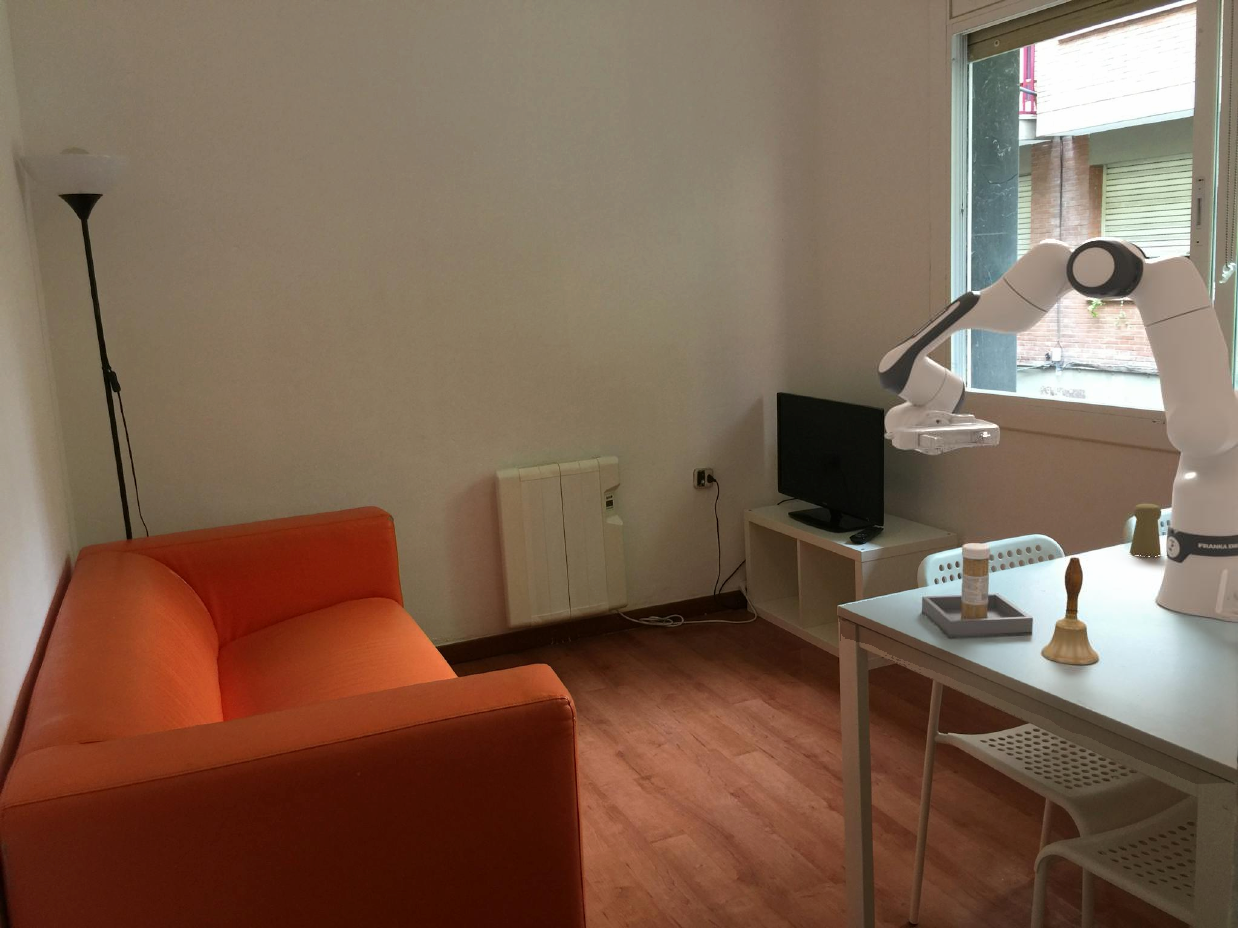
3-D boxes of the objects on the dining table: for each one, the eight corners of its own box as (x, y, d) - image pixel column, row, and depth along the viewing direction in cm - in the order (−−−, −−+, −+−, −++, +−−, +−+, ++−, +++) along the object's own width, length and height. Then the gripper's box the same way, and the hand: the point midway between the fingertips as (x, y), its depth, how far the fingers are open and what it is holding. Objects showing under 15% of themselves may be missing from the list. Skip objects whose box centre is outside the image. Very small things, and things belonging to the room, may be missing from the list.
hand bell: (1045, 643, 161) (1048, 549, 158) (1101, 651, 157) (1105, 554, 154) (1037, 660, 154) (1041, 562, 151) (1096, 668, 150) (1100, 568, 147)
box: (997, 609, 179) (998, 593, 178) (1032, 634, 165) (1032, 617, 164) (921, 612, 178) (922, 596, 178) (950, 638, 164) (950, 621, 164)
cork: (1166, 557, 209) (1169, 506, 207) (1138, 558, 209) (1140, 507, 207) (1152, 550, 215) (1154, 501, 213) (1124, 550, 215) (1126, 501, 213)
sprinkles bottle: (974, 614, 175) (976, 540, 172) (993, 621, 170) (996, 546, 168) (954, 618, 173) (956, 544, 171) (973, 625, 169) (975, 550, 166)
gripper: (881, 418, 193) (910, 427, 180) (979, 414, 196) (1015, 422, 182) (880, 450, 194) (909, 461, 181) (978, 445, 197) (1013, 455, 183)
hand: (963, 441), depth 182 cm, fingers open, 8 cm apart
